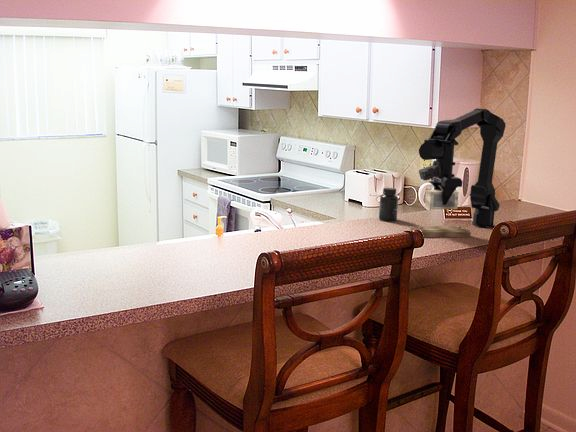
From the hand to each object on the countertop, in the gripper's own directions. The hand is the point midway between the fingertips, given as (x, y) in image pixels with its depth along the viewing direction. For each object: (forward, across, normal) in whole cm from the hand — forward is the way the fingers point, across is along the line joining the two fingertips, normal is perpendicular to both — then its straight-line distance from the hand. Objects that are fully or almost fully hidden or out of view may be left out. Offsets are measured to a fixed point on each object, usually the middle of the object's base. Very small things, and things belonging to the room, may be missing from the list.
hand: (441, 203), depth 234 cm
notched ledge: (+10, +1, 0) cm, 11 cm away
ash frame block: (+2, 0, 0) cm, 2 cm away
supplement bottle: (+11, -23, -11) cm, 28 cm away
